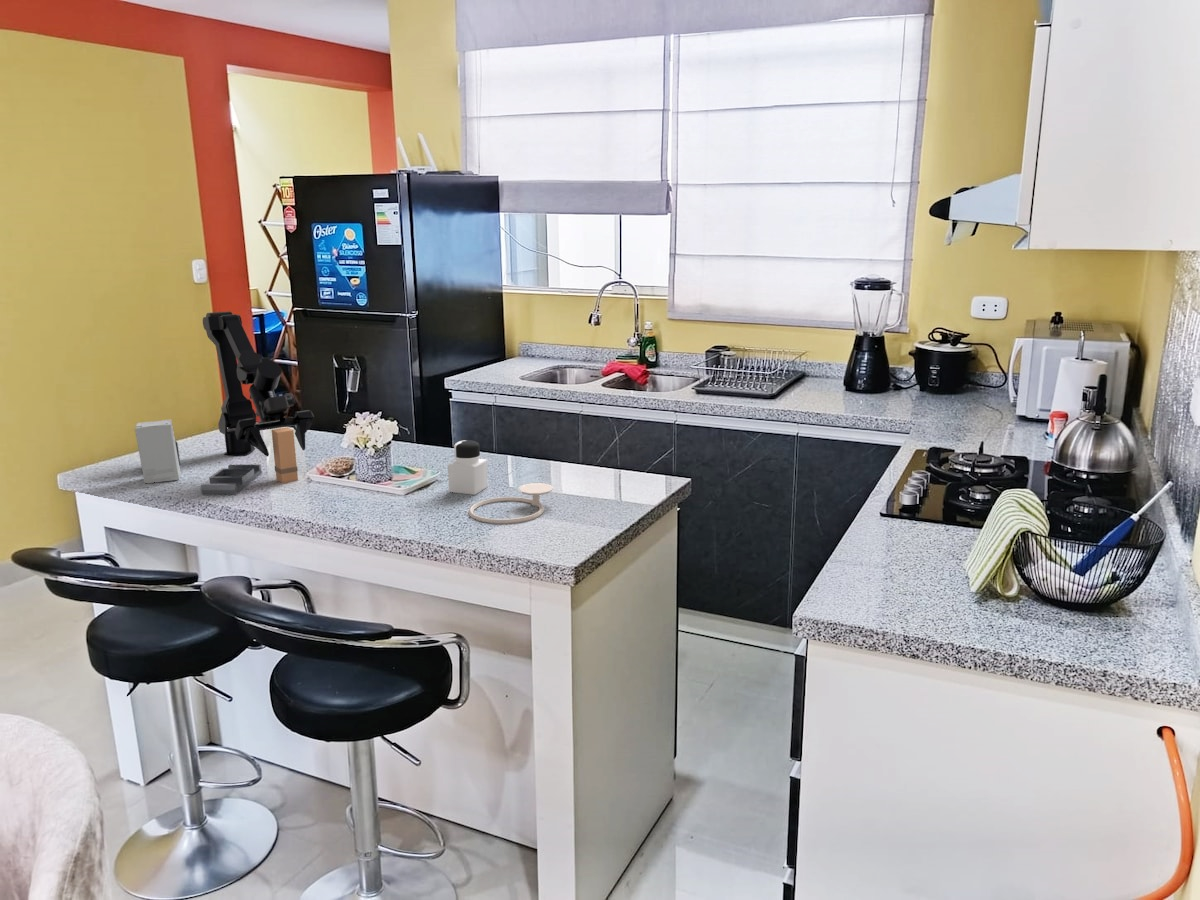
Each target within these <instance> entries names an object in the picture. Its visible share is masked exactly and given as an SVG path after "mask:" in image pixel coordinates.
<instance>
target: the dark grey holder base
mask: <svg viewBox="0 0 1200 900" xmlns="http://www.w3.org/2000/svg"><path fill="white" fill-rule="evenodd" d="M261 473H262V465H261V464H228V466H227V468H221V469H219V470H218V471H216V472H214V474H212V475H211V476H209V477H208V478H209V479H208V480H209V481H208V482H209V483H201V485H200V488H201V489H200V490H201V495H202V494H235V495H237V494H238V493H240V492H241V491H242V490H243V489H244V488H246V487H247V486H248V485H249V484H251V483H252V482H253V481H254V480H256V479H257V478H258V477H259V476H260V475H262V474H263V473H262V474H261ZM256 477H257V478H256ZM251 481H252V482H251ZM247 484H248V485H247ZM246 485H247V486H246ZM241 489H242V490H241ZM236 493H237V494H236Z"/></svg>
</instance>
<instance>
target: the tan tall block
mask: <svg viewBox="0 0 1200 900" xmlns="http://www.w3.org/2000/svg"><path fill="white" fill-rule="evenodd" d="M271 436H272V439H271V440H272V447H273V457H274V471H275V480H276V481H277V482H279V481H280V484H287V483H291V481H292V482H297V481H298V480H299V477H298V469H299V468H298V466H297V465H298V464H297V457H296V455H297V454H296V444H295V443H296V441H295V431H294V429H291V428H289V427H282V428H276V429H271ZM296 480H297V481H296ZM286 482H287V483H286Z"/></svg>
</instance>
